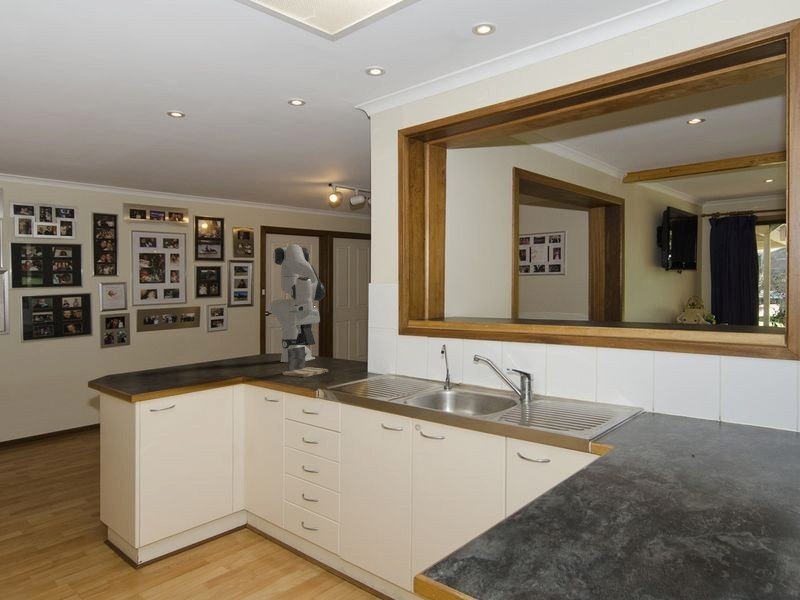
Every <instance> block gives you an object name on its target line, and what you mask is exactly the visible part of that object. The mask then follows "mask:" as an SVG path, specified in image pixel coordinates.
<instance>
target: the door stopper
mask: <svg viewBox="0 0 800 600" xmlns="http://www.w3.org/2000/svg"><path fill="white" fill-rule="evenodd" d="M300 329H301V330H302V333H300V334H299V333H298V336H297V340H296V345H305V346H312V345H316V342H315V337H314V334H313V329H312V330H311V324H303V325H301V327H300Z"/></svg>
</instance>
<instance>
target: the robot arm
mask: <svg viewBox="0 0 800 600" xmlns="http://www.w3.org/2000/svg"><path fill="white" fill-rule="evenodd" d="M310 257H311V256H310V251H309V249H308V248H306V247H301V246H300V245H299V244H295V243H294V244H293V243H292V244H289V245H288V246H287V247H275V249H274V250H273V253H272V259H273V261H274V263H275V265H279V266H281V269H280V288H281V291H282V292H284V293H286V294H287V295H289V296H290V298H283V299H282V298H280V299H276V300H272V301H271V303H270V305H269V312H270V314H271V315H272V316H273V317H274V318H276V319H277V321H279V324H280V327H281V334H282V339H281V346H282V348H281V349H282V350H281V358H280V362H281V363H288V349H292V348H298V347H305V362H308V361H312V360H315V359H316V357H315V356H312V351H311V349H310V348H309V347H307V345H296V340H297V336H298V333H299V334H300V333H302V330H301V329H300V327H301V325H303V324H311V330H312V331H313V328H314V324H319V323H320V321H321V317H320V312H319V311H320V310H319V308H318V306H316V305H315V306H313V305H314V304H313V301H315V302H316V301H317V302H320V301H322V300H323V298H324V297H325V295H326V289H325V286H324V284H323V283H322V282H321V280H320V278H319V276H318V273H317V270H316V269H315V268H314V266H313V264H311V263H310V262H309V261H310ZM299 275H300V276H299Z"/></svg>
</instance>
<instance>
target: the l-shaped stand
mask: <svg viewBox="0 0 800 600" xmlns="http://www.w3.org/2000/svg"><path fill="white" fill-rule="evenodd" d="M287 368H288V369H287V370H286V371H282V375H283V376H290V377H299V378H308V377H311V376H316V375H321V374H326V373H328V372H329V369H328V368H320V367H319V368H318V367H310V366H306V361H305V347H298V348H292V349H288V362H287ZM325 372H326V373H325Z"/></svg>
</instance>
